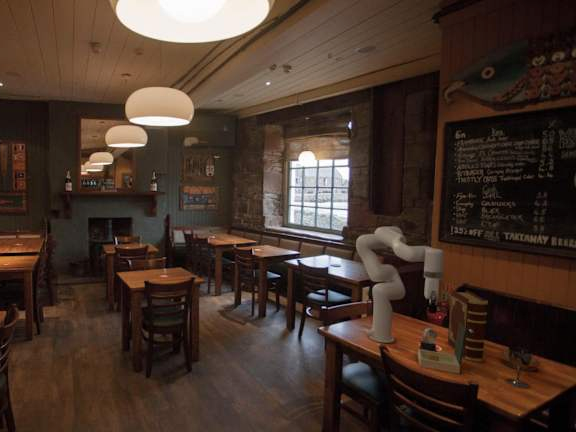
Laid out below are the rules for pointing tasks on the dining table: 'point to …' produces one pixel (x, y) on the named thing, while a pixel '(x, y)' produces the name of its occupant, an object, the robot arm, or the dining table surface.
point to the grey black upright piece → (429, 344)
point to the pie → (505, 358)
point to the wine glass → (519, 363)
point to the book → (445, 361)
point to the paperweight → (433, 356)
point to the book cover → (461, 341)
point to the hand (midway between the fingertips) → (430, 309)
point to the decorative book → (468, 323)
